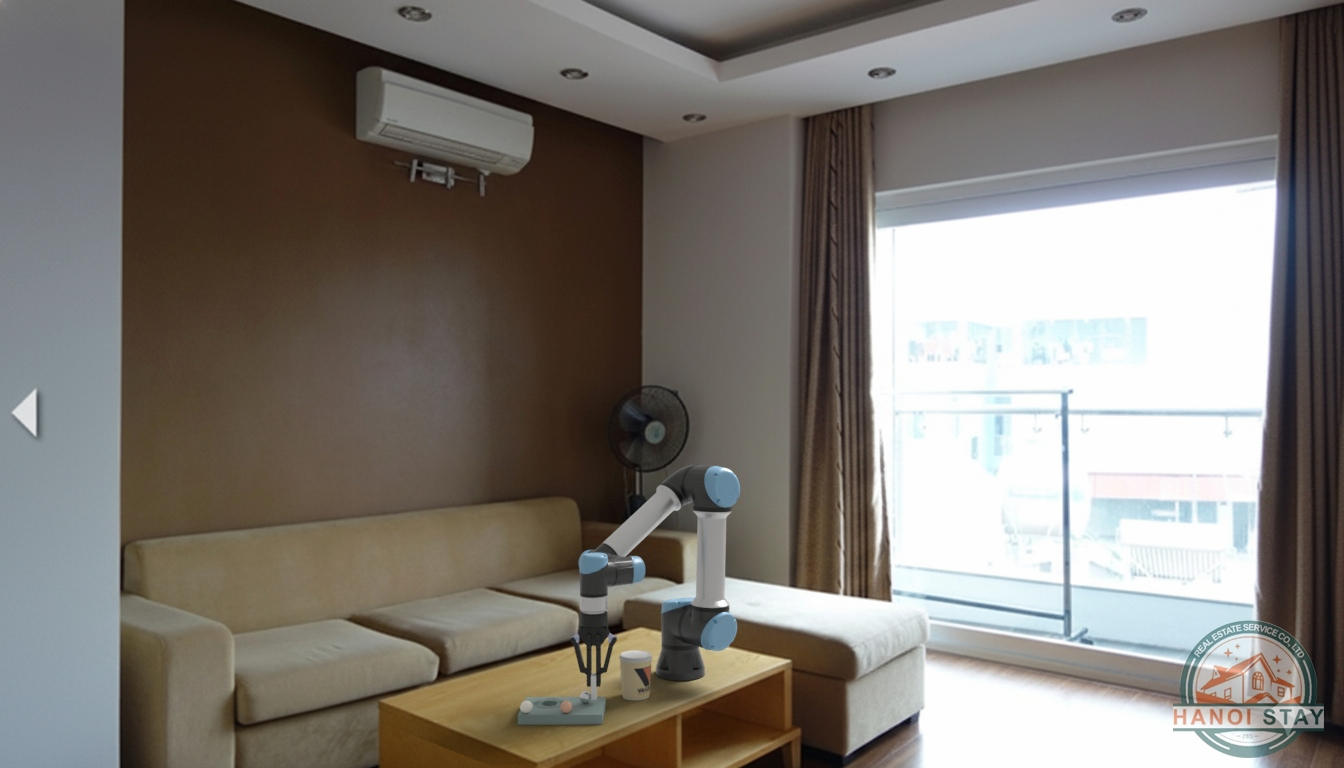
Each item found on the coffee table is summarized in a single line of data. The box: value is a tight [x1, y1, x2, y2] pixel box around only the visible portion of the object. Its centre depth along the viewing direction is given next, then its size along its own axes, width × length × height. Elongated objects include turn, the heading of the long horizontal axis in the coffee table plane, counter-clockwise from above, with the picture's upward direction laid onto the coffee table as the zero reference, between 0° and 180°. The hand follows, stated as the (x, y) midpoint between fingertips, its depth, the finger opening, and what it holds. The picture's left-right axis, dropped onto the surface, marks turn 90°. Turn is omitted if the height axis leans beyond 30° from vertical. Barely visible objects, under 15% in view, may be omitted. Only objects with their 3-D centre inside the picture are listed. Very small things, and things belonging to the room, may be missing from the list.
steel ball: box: [578, 690, 591, 704], centre depth 259 cm, size 3×3×3 cm
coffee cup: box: [618, 649, 653, 701], centre depth 273 cm, size 9×9×12 cm
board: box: [517, 696, 607, 726], centre depth 257 cm, size 22×15×2 cm
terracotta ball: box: [560, 700, 572, 713], centre depth 251 cm, size 3×3×3 cm
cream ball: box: [519, 700, 532, 713], centre depth 251 cm, size 3×3×3 cm
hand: (593, 698), depth 258 cm, fingers closed
